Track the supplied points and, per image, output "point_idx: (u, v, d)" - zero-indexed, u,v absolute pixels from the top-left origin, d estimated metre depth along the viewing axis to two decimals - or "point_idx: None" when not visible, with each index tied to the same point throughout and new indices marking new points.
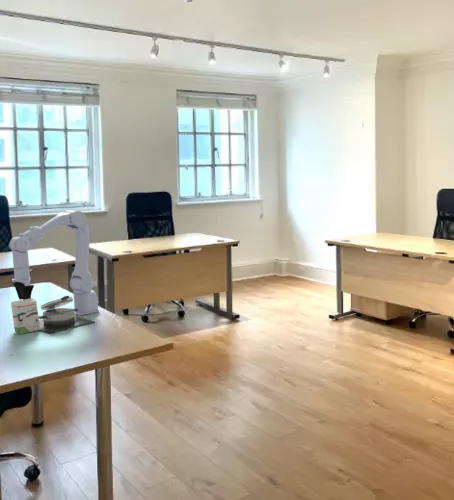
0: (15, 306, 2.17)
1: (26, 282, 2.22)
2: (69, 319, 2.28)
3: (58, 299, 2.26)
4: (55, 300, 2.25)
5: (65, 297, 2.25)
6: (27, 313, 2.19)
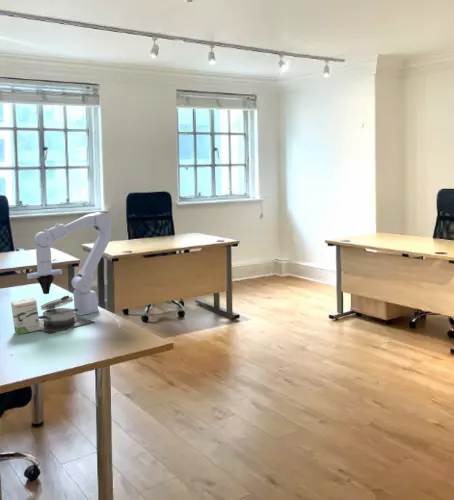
0: (15, 306, 2.17)
1: (27, 275, 2.34)
2: (69, 319, 2.28)
3: (58, 299, 2.26)
4: (55, 300, 2.25)
5: (65, 297, 2.25)
6: (27, 313, 2.19)
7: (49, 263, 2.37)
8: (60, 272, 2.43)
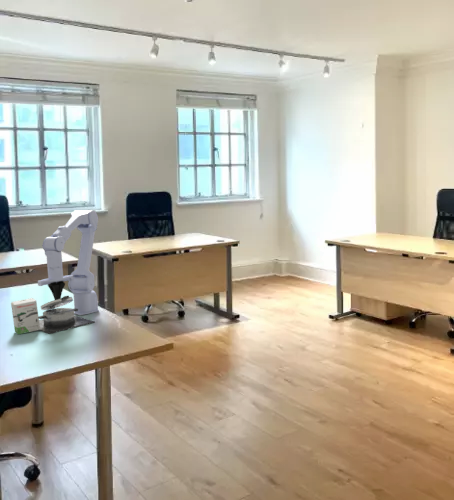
0: (15, 306, 2.17)
1: (38, 282, 2.25)
2: (69, 319, 2.28)
3: (58, 299, 2.26)
4: (55, 300, 2.25)
5: (65, 297, 2.25)
6: (27, 313, 2.19)
7: (60, 269, 2.28)
8: (72, 278, 2.33)
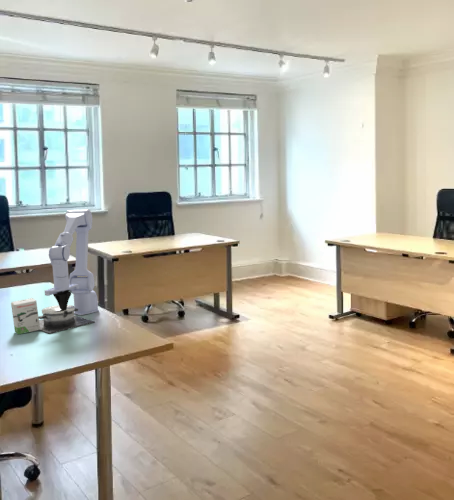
0: (15, 306, 2.17)
1: (45, 292, 2.22)
2: (69, 319, 2.28)
3: (61, 312, 2.25)
4: (58, 312, 2.25)
5: (68, 313, 2.25)
6: (27, 313, 2.19)
7: (67, 278, 2.26)
8: (77, 287, 2.32)
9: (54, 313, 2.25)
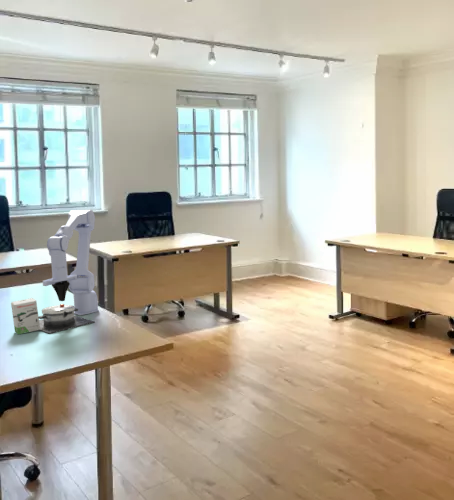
0: (15, 306, 2.17)
1: (43, 282, 2.22)
2: (69, 319, 2.28)
3: (61, 312, 2.25)
4: (58, 312, 2.25)
5: (68, 313, 2.25)
6: (27, 313, 2.19)
7: (65, 269, 2.26)
8: (75, 278, 2.32)
9: (54, 313, 2.25)
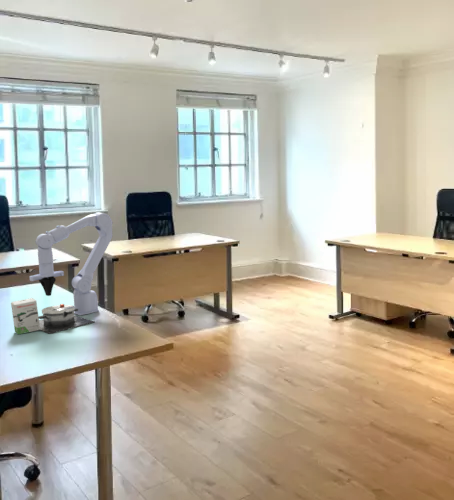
0: (15, 306, 2.17)
1: (30, 277, 2.35)
2: (69, 319, 2.28)
3: (61, 312, 2.25)
4: (58, 312, 2.25)
5: (68, 313, 2.25)
6: (27, 313, 2.19)
7: (51, 265, 2.38)
8: (62, 274, 2.44)
9: (54, 313, 2.25)
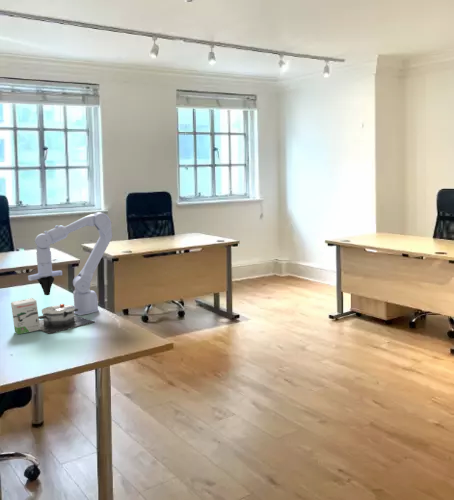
0: (15, 306, 2.17)
1: (28, 277, 2.36)
2: (69, 319, 2.28)
3: (61, 312, 2.25)
4: (58, 312, 2.25)
5: (68, 313, 2.25)
6: (27, 313, 2.19)
7: (49, 264, 2.39)
8: (60, 273, 2.45)
9: (54, 313, 2.25)
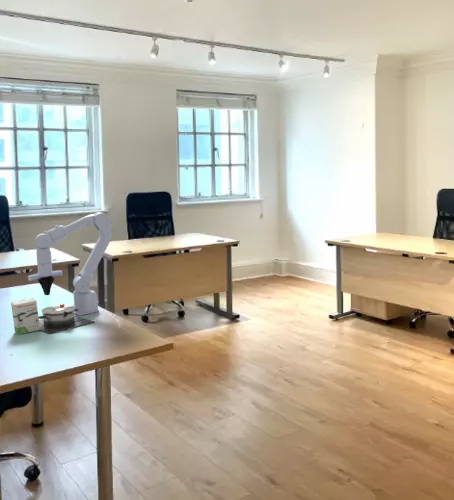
0: (15, 306, 2.17)
1: (28, 277, 2.36)
2: (69, 319, 2.28)
3: (61, 312, 2.25)
4: (58, 312, 2.25)
5: (68, 313, 2.25)
6: (27, 313, 2.19)
7: (49, 264, 2.39)
8: (60, 273, 2.45)
9: (54, 313, 2.25)
